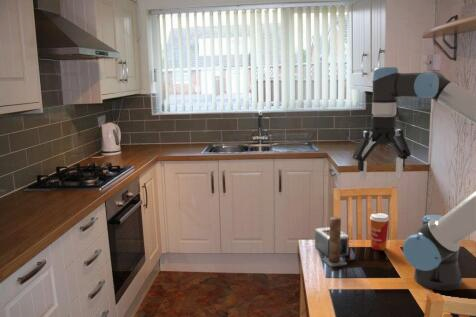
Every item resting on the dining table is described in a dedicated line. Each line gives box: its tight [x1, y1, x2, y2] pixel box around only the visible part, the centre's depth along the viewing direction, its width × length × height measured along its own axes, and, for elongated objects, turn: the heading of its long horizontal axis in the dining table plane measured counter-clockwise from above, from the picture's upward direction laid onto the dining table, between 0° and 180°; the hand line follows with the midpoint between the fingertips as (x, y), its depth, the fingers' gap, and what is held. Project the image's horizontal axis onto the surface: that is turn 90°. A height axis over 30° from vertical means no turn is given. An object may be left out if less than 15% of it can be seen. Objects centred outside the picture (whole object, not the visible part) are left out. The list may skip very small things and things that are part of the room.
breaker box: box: [314, 226, 350, 258], centre depth 180 cm, size 12×9×8 cm
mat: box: [321, 257, 348, 268], centre depth 170 cm, size 7×7×1 cm
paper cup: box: [369, 212, 390, 251], centre depth 182 cm, size 8×8×14 cm
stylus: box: [329, 216, 342, 263], centre depth 168 cm, size 4×4×17 cm
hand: (381, 179), depth 147 cm, fingers open, 13 cm apart
